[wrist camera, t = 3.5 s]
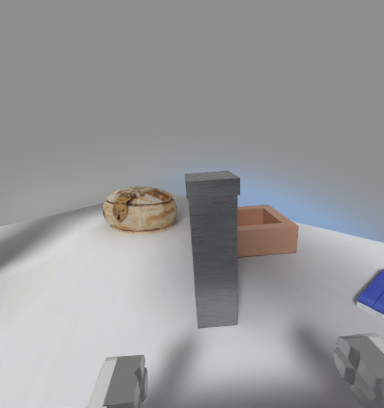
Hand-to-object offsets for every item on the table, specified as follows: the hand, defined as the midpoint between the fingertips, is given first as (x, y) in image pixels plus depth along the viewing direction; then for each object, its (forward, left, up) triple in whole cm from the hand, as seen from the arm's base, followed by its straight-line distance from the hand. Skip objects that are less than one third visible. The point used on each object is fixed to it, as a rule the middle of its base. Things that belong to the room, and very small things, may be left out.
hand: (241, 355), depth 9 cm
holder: (+8, +24, -7) cm, 26 cm away
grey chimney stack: (0, +10, -7) cm, 12 cm away
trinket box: (-12, +35, -8) cm, 37 cm away
